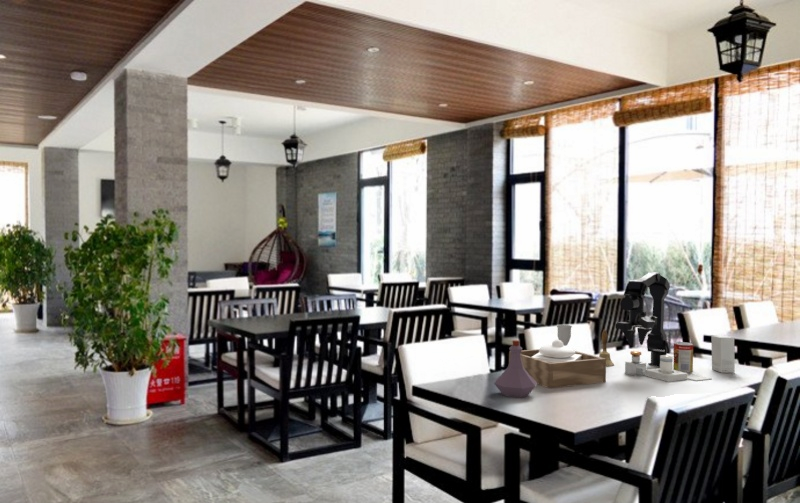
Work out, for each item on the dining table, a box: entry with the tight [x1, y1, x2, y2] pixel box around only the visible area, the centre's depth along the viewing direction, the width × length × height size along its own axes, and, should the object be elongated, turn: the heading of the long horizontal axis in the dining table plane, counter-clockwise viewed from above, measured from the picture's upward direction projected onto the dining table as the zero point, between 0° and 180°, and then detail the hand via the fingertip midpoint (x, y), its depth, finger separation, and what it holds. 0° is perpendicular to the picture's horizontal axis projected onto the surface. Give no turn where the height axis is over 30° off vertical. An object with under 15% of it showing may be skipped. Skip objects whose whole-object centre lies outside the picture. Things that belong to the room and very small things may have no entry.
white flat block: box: [644, 367, 688, 382], centre depth 258 cm, size 12×11×2 cm
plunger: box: [629, 350, 642, 364], centre depth 265 cm, size 4×4×7 cm
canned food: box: [672, 341, 694, 373], centre depth 273 cm, size 8×8×12 cm
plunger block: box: [624, 360, 647, 377], centre depth 265 cm, size 6×6×5 cm
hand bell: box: [598, 329, 615, 367], centre depth 285 cm, size 8×8×16 cm
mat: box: [686, 373, 713, 382], centre depth 258 cm, size 9×9×1 cm
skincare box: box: [710, 334, 736, 374], centre depth 272 cm, size 8×7×16 cm
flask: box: [493, 339, 538, 399], centre depth 227 cm, size 16×16×20 cm
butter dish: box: [532, 339, 582, 363], centre depth 256 cm, size 18×18×16 cm
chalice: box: [556, 324, 573, 346], centre depth 284 cm, size 7×7×18 cm
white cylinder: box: [659, 354, 674, 373], centre depth 258 cm, size 5×5×9 cm
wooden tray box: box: [508, 348, 607, 389], centre depth 256 cm, size 28×28×10 cm
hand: (636, 345), depth 264 cm, fingers open, 6 cm apart
